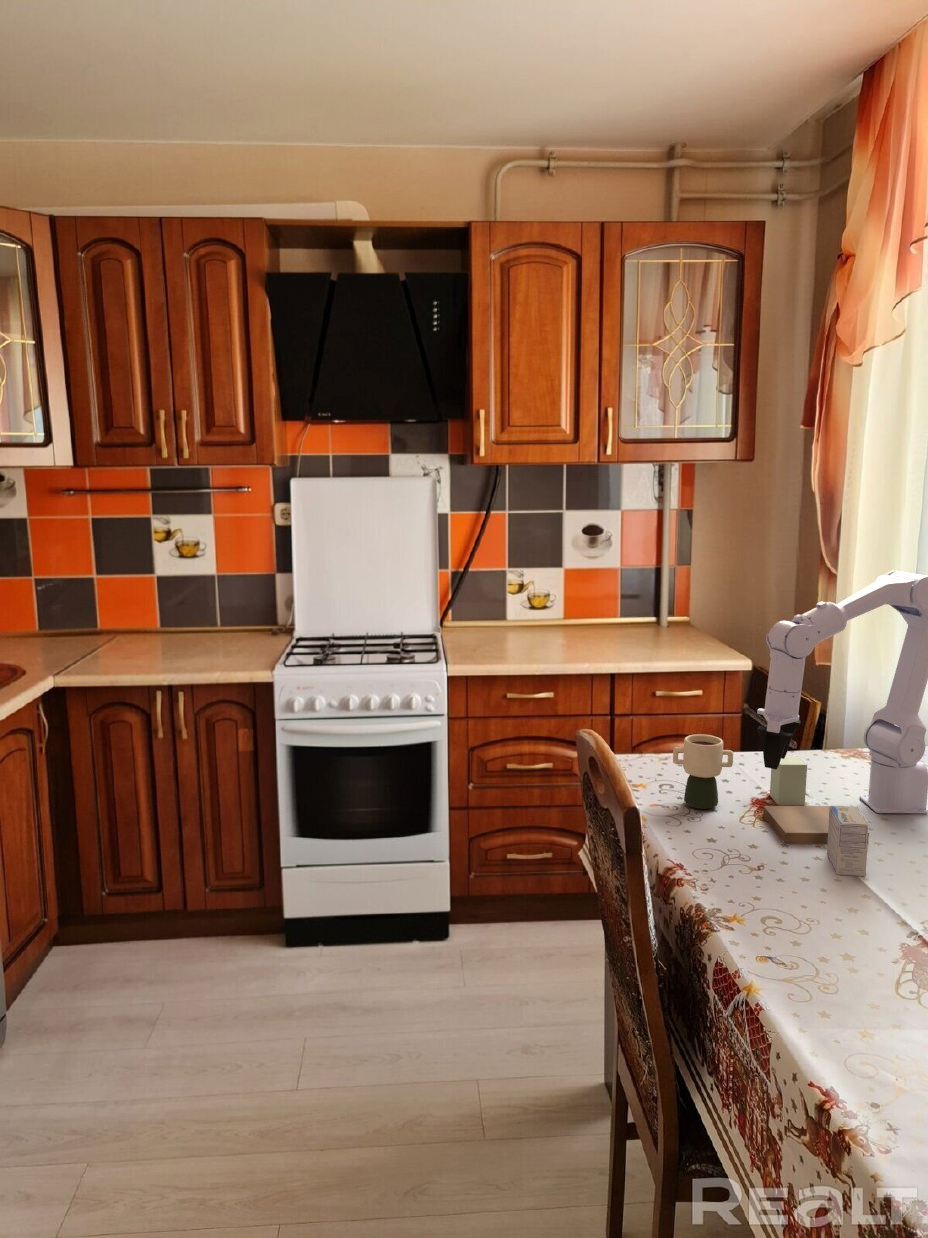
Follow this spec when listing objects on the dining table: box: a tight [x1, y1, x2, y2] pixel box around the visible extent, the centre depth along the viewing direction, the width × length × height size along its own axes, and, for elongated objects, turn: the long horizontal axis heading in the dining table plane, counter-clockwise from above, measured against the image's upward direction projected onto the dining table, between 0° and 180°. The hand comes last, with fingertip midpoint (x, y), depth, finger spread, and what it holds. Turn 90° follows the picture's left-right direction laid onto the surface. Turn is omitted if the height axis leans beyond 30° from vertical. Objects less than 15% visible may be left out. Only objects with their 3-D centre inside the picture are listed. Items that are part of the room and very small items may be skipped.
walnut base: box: [762, 805, 870, 845], centre depth 156 cm, size 14×12×2 cm
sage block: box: [769, 755, 808, 806], centre depth 169 cm, size 5×5×8 cm
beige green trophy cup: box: [672, 733, 734, 810], centre depth 166 cm, size 11×7×13 cm, turn 78°
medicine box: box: [826, 805, 869, 877], centre depth 141 cm, size 8×4×9 cm, turn 168°
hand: (774, 762), depth 159 cm, fingers open, 7 cm apart
